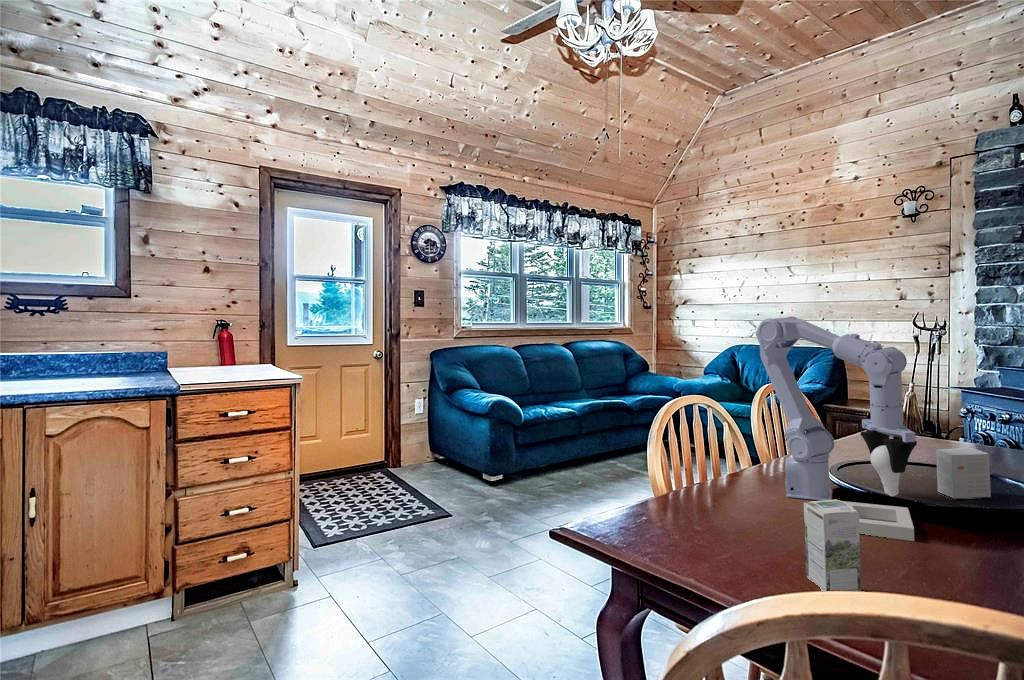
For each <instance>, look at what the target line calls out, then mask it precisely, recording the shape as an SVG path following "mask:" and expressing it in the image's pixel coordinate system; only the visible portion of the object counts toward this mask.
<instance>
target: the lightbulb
mask: <svg viewBox="0 0 1024 680" xmlns="http://www.w3.org/2000/svg"><path fill="white" fill-rule="evenodd" d="M869 459H870V463H871V466H872V467H873V468H874V469H875V471H876V472H877V473H878V475H879V478H880V481H881V484H882V485H883V491H884V493H885V494H886V495H888V496H890V497H895V496H896V495H899V493H900V489H899V484H900V476H901V473H893V472H892V469H891V464H890V457H889V453H888V450H887V447H886V445H883V446H879V447H877V448H875V449H874V450H873V451H872V453H871V454H870V458H869Z"/></svg>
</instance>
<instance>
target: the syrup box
mask: <svg viewBox="0 0 1024 680" xmlns="http://www.w3.org/2000/svg"><path fill="white" fill-rule="evenodd" d="M842 501H843V500H839V499H832V500H824V501H822V500H814V501H813V500H812V501H804V502H803V521H804V523H803V524H804V547H805V578H806V577H807V578H808V579H809V580H811V581H812V582H814V583H815V584H816V585H818V586H819V587H820V589H821V591H831V590H841V591H861V592H862V587H861V586H862V584H861V583H862V582H861V579H862V578H861V577H862V576H861V546H860V537H861V536H860V534H859V512H858V511H856V510H855V509H854V508H852V507H851V506H849V505H847V504H846V503H844V502H842Z"/></svg>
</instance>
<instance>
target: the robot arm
mask: <svg viewBox="0 0 1024 680" xmlns="http://www.w3.org/2000/svg"><path fill="white" fill-rule="evenodd" d="M755 336H756V338H757V340H758V343H759V355H760V356H759V357H760V360H761V362H762V365H763V366H764V368H765V372H766V374H767V375H768V378H769V381H770V383H771V385H772V387H773V389H774V392H775V394H776V397H777V398H778V401H779V403H780V405H781V409H782V410H783V413H784V415H785V417H786V419H787V421H788V425H787V427H786V429H785V431H784V434H785V437H786V443H787V450H788V453H790V455H791V456H792V457H791V456H789V457H788V456H787V457H786V458H785V471H784V472H785V483H784V485H785V490H786V491H785V492H786V496H785V497H787V498H794V499H804V500H805V499H806V500H812V501H813V500H814V501H824V500H833V489H831V488H830V485H831V484H830V467H829V464H830V463H829V462H830V461H829V458H830V453H831V452H833V450H834V448H835V439H834V437H833V435H832V434H831V433H830V432H829V431H828V430H827V429H826V428H825V425H824V424H823V422H822V421H820V420H819V419H818V418H816V417H815V416H813V415H812V413H811V410H810V408H809V405H808V404H807V401H806V398H805V396H804V394H803V392H802V390H801V388H800V386H799V383H798V381H797V379H796V377H795V374H794V373H793V370H792V368H791V366H790V363H789V361H788V359H787V356H788V354H789V351H790V350H791V349H792V347H793V346H794V345H795V344H796V343H797V342H798V341H799V340H800V339H803V340H805V341H807V342H810V343H813V344H816V345H819V346H821V347H824V348H827V349H830V350H832V352H833V354H834V356H835V357H836V358H837V359H840V360H843V361H845V362H847V363H850V364H853V365H854V366H857V367H859V368H862V369H863V371H864V372H865V374H867V376H868V382H869V383H868V385H869V404H870V405H869V407H870V418H862V419H861V427H862V429H864V431H863V430H862V431H860V436H861V437H862V438H863V441H864V442H865V444H866V446H867V448H868V451H869V454H870V455H871V453H872V451H873V450H874V449H875V448H877V447H879V446H883V445H886V447H887V450H888V453H889V457H890V464H891V469H892V472H893V473H900V474H901V473H905V472H906V468H907V465H908V462H909V459H910V455H911V453H912V452H913V450H914V449H915V447H916V446H917V443H918V442H917V440H916V432H915V431H912V430H910V429H909V428H908V427H907V426H905V425H904V413H903V412H904V411H903V407H904V406H903V384H902V383H903V382H902V379H903V378H902V372H903V371H904V370H905V369H906V366H907V362H908V360H907V357H906V355H905V353H904V352H903V351H901V349H900V350H899V349H898V348H897V347H895V346H887V347H882V343H879V342H871V341H868V340H865V339H863V338H860V336H861V335H860V334H857V333H850V334H849V333H848V334H847V333H846V334H843V335H842V336H840V335H838V334H835V333H833V332H831V331H828V330H826V329H825V328H822V327H820V326H817V325H815V324H813V323H811V322H809V321H807V320H805V319H802V318H798V317H796V316H786V317H778V318H770V317H769V318H764V319H763V320H762V321H760V323H759V325H758V328H757V330H756V332H755ZM865 430H866V431H865ZM891 437H893V438H891Z"/></svg>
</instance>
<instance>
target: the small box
mask: <svg viewBox="0 0 1024 680" xmlns="http://www.w3.org/2000/svg"><path fill="white" fill-rule="evenodd" d="M935 454H936V478H937V493H938V492H940V493H942V494H945V495H947V496H950V497H952V498H970V497H971V498H972V497H991V498H992V495H991V494H992V491H991V473H990V467H991V465H990V454H989V453H988V452H985V451H982V450H979V449H978V448H977V449H976V448H974V447H959V448H958V447H957V448H955V447H954V448H938V449H936V450H935ZM940 493H939V494H940ZM942 494H941V495H942Z"/></svg>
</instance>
